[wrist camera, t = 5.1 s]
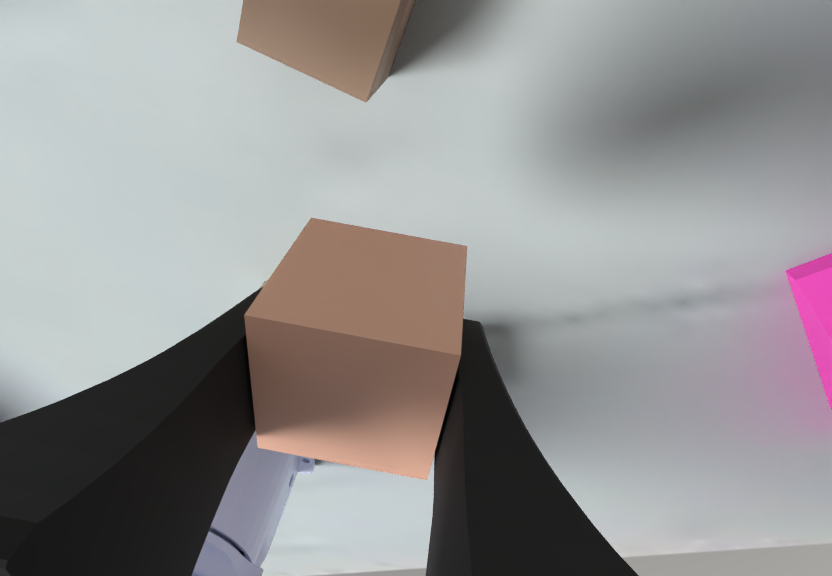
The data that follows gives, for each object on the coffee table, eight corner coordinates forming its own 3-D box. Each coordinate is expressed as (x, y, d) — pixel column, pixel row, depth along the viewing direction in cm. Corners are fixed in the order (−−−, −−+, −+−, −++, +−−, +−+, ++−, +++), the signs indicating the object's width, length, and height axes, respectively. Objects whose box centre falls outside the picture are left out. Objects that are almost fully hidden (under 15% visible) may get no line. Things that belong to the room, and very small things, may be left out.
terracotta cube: (440, 359, 14) (426, 480, 11) (310, 335, 14) (257, 447, 11) (467, 246, 12) (461, 355, 8) (311, 217, 12) (244, 314, 8)
